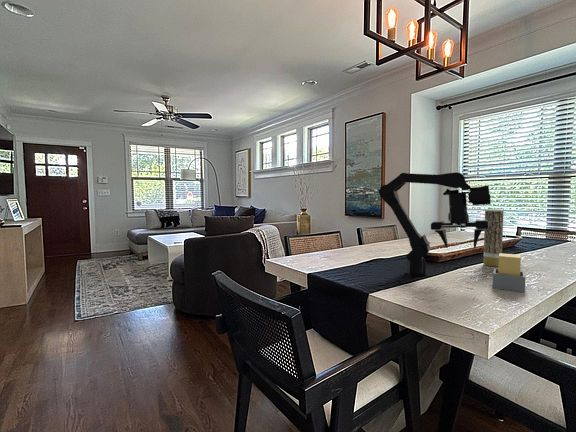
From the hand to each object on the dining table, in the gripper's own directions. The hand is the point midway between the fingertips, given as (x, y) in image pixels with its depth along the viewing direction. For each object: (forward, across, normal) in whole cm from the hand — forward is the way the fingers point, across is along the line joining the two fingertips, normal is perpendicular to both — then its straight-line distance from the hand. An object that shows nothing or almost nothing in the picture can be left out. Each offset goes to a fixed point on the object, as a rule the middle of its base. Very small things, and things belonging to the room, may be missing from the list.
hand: (460, 247), depth 116 cm
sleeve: (+13, -14, +1) cm, 19 cm away
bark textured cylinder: (+13, -7, -33) cm, 37 cm away
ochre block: (+13, -14, +1) cm, 19 cm away
